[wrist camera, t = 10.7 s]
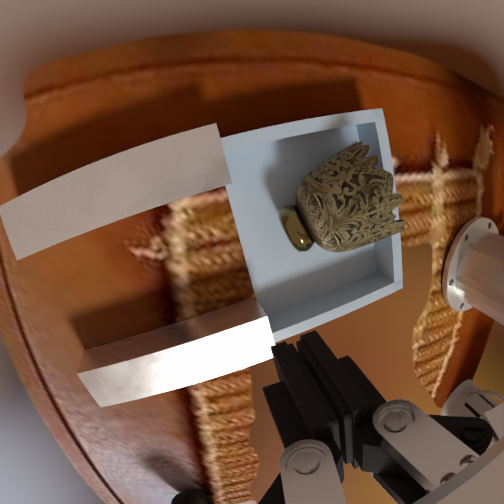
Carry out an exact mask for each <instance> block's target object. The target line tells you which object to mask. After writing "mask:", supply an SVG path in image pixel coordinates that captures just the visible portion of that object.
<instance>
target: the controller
mask: <svg viewBox="0 0 504 504" xmlns="http://www.w3.org/2000/svg"><path fill="white" fill-rule="evenodd" d="M171 504H215V503H214V502H213V501H212V500H211V499H210V498H209V497H208V496H207V495H206V494H205V493H203V492H201V491H198V490H188V491H184V492H181V493H179V494H177V495H176V496H175V497H174V498H173V500H172V502H171Z"/></svg>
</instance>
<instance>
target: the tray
mask: <svg viewBox="0 0 504 504" xmlns="http://www.w3.org/2000/svg"><path fill="white" fill-rule="evenodd" d="M220 139H221V143H222V147H223V151H224V154H225V158H226V162H227V166H228V170H229V173H230V177H231V181H232V184H229V185H225V188H226V191H227V195H228V199H229V202H230V206H231V210H232V214H233V217H234V221H235V225H236V228H237V232H238V236H239V239H240V243H241V247H242V250H243V254H244V257H245V261H246V265H247V268H248V272H249V276H250V279H251V283H252V287H253V290H254V294H255V297H256V298H257V300H258V302H259V303H260V305H261V307H262V308H263V310H264V311H265V313H266V315H267V317H268V320H269V324H270V328H271V332H272V335H273V339H274V343H275V342H278V341H280V340H283V339H286V338H288V337H291V336H294V335H296V334H299V333H301V332H304V331H306V330H309V329H311V328H314V327H316V326H319V325H321V324H324V323H326V322H328V321H331V320H333V319H335V318H338V317H340V316H342V315H345V314H347V313H349V312H351V311H354V310H356V309H358V308H361V307H363V306H365V305H367V304H370V303H372V302H374V301H376V300H378V299H380V298H383V297H385V296H387V295H389V294H391V293H393V292H395V291H397V290H399V289H401V288H403V286H402V255H401V238H400V232H399V233H397V234H394V235H392V236H389V237H387V238H384V239H381V240H379V241H376V242H374V243H371V244H368V245H366V246H363V247H360V248H357V249H354V250H350V251H346V252H330V251H327V250H324V249H323V248H321V247H320V246H319V245H317V244H316V243H314V245H313V246H312V247H311V249H310V250H308V251H306V252H298V251H296V250H295V249H294V248H293V247H292V245H291V243H290V242H289V240H288V238H287V236H286V234H285V232H284V230H283V228H282V226H281V224H280V221H279V218H278V214H279V211H280V210H281V209H282V208H283V206H285V205H291V204H292V205H296V200H295V195H296V190H297V187H298V185H299V183H300V182H301V180H302V179H303V178H304V177H305V176H306V175H307V174H308V173H309V172H310V171H312V170H313V169H314V168H316V167H317V166H318V165H320V164H321V163H323V162H324V161H326V160H327V159H329V158H330V157H332V156H334V155H335V154H337V153H338V152H340V151H341V150H343V149H345V148H346V147H348V146H349V145H352V144H353V142H355V141H358V142H361V141H363V144H361V145H369V151H368V153H367V155H366V156H365V157H369V156H372V155H375V154H377V155H378V164H377V165H374V167H375V166H376V167H377V168H378V169H383V170H386V171H388V172H390V173H391V174H392V175H393V179H394V171H393V165H392V158H391V152H390V146H389V140H388V135H387V130H386V124H385V119H384V115H383V110H382V108H381V109H372V110H363V111H356V112H348V113H341V114H335V115H328V116H322V117H316V118H310V119H305V120H299V121H294V122H289V123H284V124H279V125H274V126H269V127H265V128H260V129H256V130H252V131H247V132H243V133H239V134H235V135H231V136H227V137H223V138H220ZM358 142H357V143H358ZM376 167H375V168H376ZM394 193H396V186H395V179H394V184H393V193H392V194H394ZM394 209H395V208H394ZM394 209H393V213H394V214H395V216H397V217H396V218H395V220H399V214H398V207H397V208H396V209H395V210H394Z"/></svg>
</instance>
